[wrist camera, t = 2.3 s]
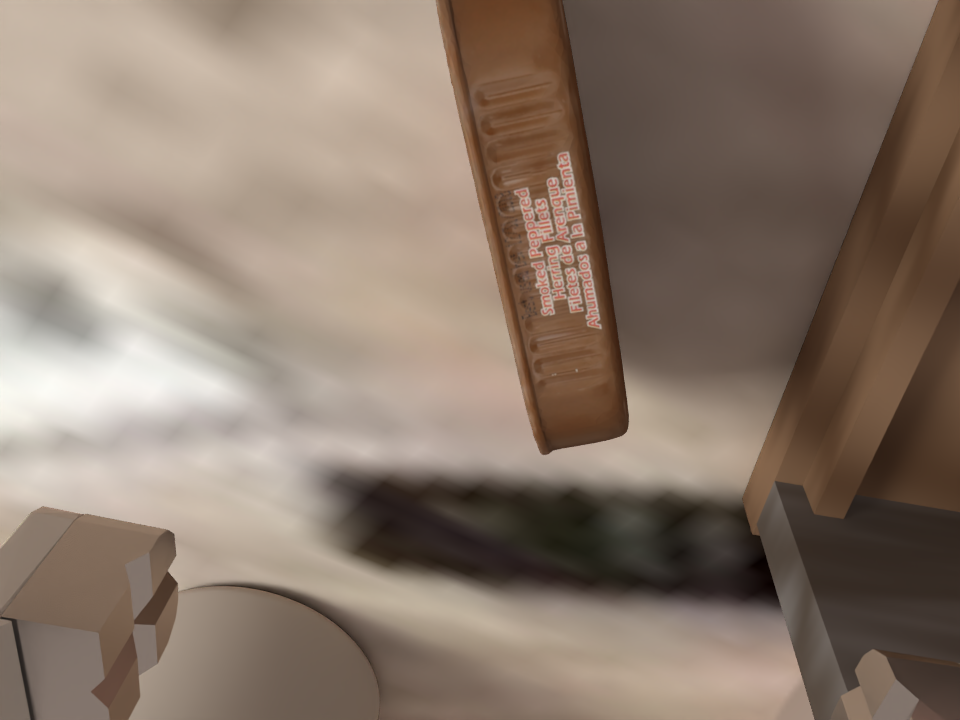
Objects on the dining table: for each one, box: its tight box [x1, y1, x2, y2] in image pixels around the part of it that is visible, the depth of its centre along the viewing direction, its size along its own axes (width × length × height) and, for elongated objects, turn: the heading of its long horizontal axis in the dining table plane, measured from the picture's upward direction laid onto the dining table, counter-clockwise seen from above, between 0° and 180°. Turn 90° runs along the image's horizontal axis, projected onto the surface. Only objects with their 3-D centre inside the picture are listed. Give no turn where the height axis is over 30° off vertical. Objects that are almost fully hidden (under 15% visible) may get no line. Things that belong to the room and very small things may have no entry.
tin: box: [436, 0, 629, 455], centre depth 22 cm, size 15×3×8 cm, turn 12°
